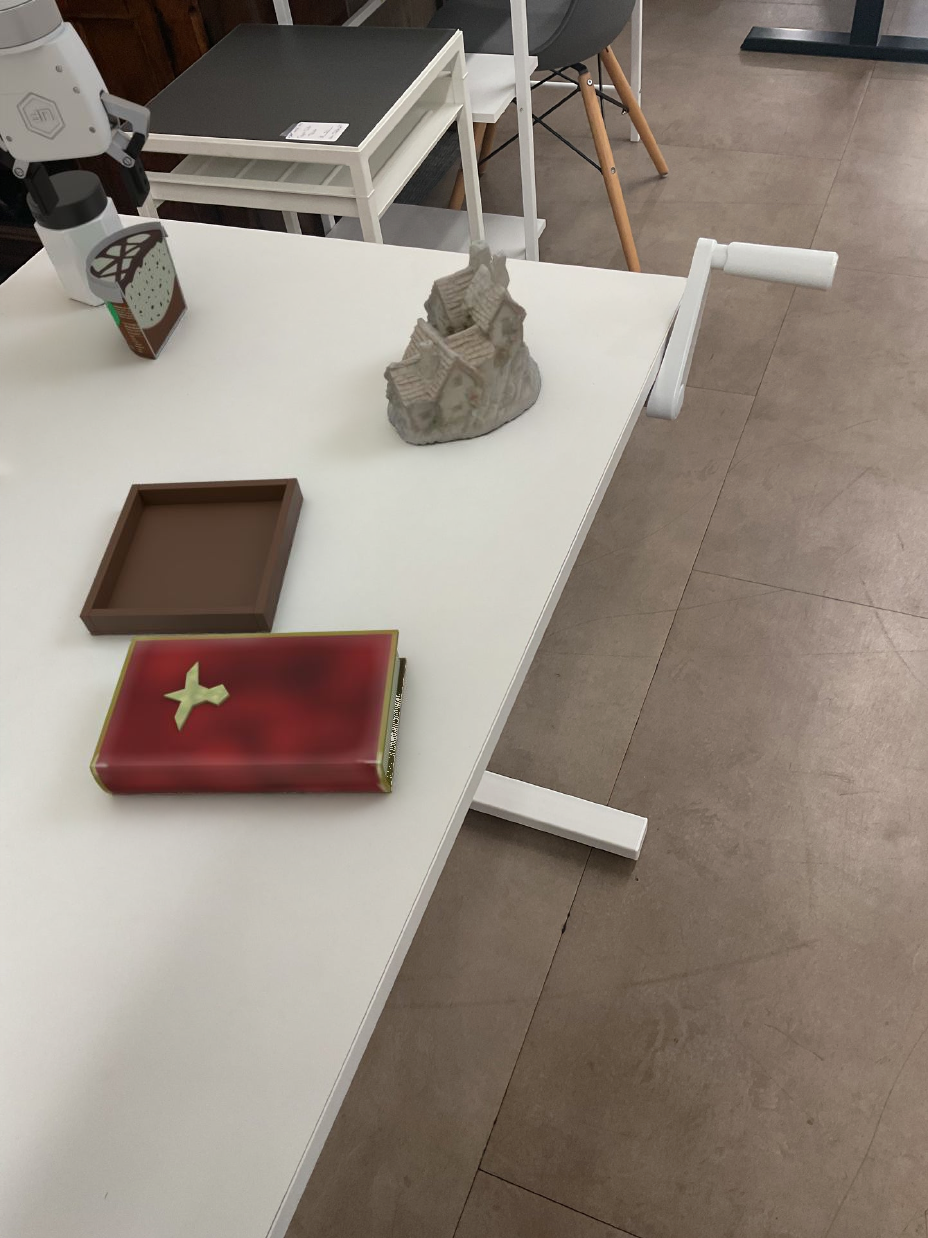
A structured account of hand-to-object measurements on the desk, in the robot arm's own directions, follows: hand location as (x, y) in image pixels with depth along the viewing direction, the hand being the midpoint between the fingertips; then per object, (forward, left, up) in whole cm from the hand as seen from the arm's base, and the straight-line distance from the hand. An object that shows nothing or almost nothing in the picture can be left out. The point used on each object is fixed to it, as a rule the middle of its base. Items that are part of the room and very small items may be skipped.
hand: (96, 204), depth 101 cm
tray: (+15, -35, -15) cm, 41 cm away
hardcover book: (+24, -52, -15) cm, 59 cm away
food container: (0, 0, -15) cm, 15 cm away
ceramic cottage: (+36, -12, -15) cm, 41 cm away
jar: (-8, +10, -15) cm, 20 cm away
